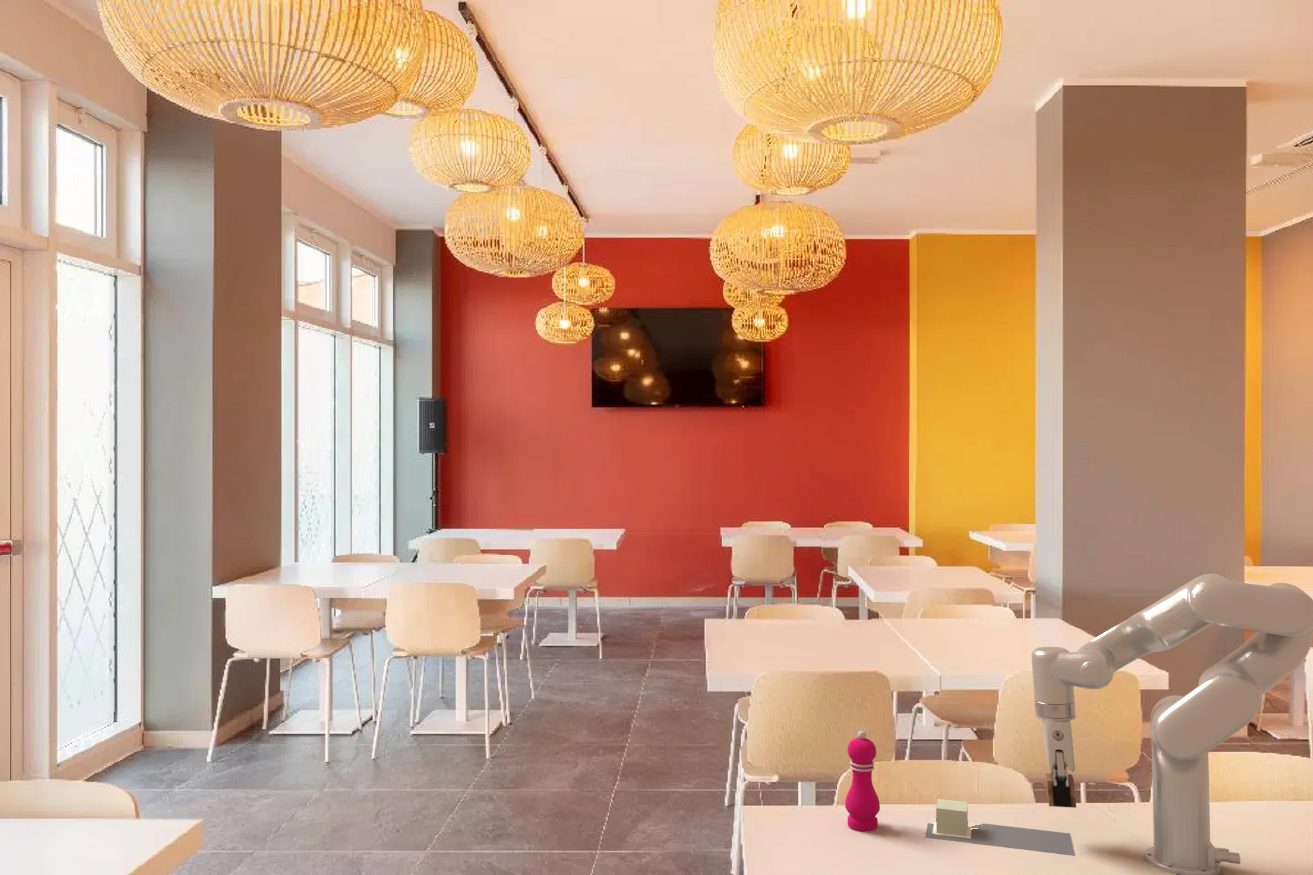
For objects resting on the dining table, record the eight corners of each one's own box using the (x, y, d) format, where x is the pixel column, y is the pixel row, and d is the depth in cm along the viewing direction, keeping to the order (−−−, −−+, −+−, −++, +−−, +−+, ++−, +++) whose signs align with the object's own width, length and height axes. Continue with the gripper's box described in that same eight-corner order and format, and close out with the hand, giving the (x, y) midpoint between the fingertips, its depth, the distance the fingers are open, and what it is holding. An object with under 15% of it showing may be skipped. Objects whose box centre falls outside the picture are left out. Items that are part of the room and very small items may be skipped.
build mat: (1069, 835, 195) (1069, 832, 195) (1074, 857, 183) (1074, 854, 183) (928, 818, 204) (928, 816, 204) (925, 839, 193) (925, 836, 193)
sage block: (967, 825, 198) (967, 801, 199) (967, 836, 193) (966, 811, 193) (937, 822, 200) (937, 798, 201) (936, 832, 195) (936, 808, 195)
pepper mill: (880, 833, 195) (879, 736, 196) (845, 831, 197) (844, 734, 198) (879, 821, 203) (878, 727, 203) (845, 818, 204) (844, 725, 205)
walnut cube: (1074, 799, 191) (1072, 774, 191) (1076, 807, 186) (1074, 781, 187) (1047, 798, 193) (1045, 773, 193) (1048, 806, 188) (1047, 780, 188)
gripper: (1078, 720, 182) (1085, 816, 180) (1071, 700, 198) (1078, 789, 196) (1037, 719, 184) (1043, 814, 183) (1033, 699, 200) (1039, 787, 199)
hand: (1061, 800), depth 190 cm, fingers closed on walnut cube, 4 cm apart
